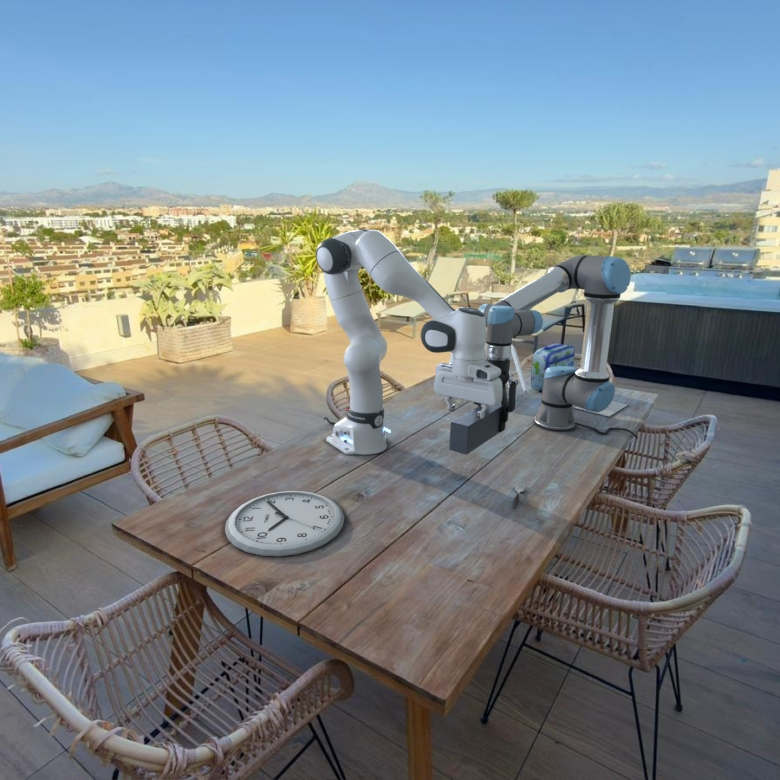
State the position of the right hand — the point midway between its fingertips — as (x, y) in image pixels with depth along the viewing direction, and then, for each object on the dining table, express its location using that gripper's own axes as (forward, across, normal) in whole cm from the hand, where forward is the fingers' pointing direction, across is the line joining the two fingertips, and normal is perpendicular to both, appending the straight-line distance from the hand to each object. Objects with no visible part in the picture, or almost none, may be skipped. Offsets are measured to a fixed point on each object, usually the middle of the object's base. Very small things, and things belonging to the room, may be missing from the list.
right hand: (492, 428), depth 166 cm
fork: (+12, +16, -15) cm, 25 cm away
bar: (+1, 0, -9) cm, 9 cm away
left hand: (-10, 0, -18) cm, 21 cm away
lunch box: (+13, -15, +96) cm, 98 cm away
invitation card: (+13, +12, +83) cm, 85 cm away
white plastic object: (+13, -39, +68) cm, 79 cm away
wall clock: (+12, -26, -64) cm, 70 cm away
